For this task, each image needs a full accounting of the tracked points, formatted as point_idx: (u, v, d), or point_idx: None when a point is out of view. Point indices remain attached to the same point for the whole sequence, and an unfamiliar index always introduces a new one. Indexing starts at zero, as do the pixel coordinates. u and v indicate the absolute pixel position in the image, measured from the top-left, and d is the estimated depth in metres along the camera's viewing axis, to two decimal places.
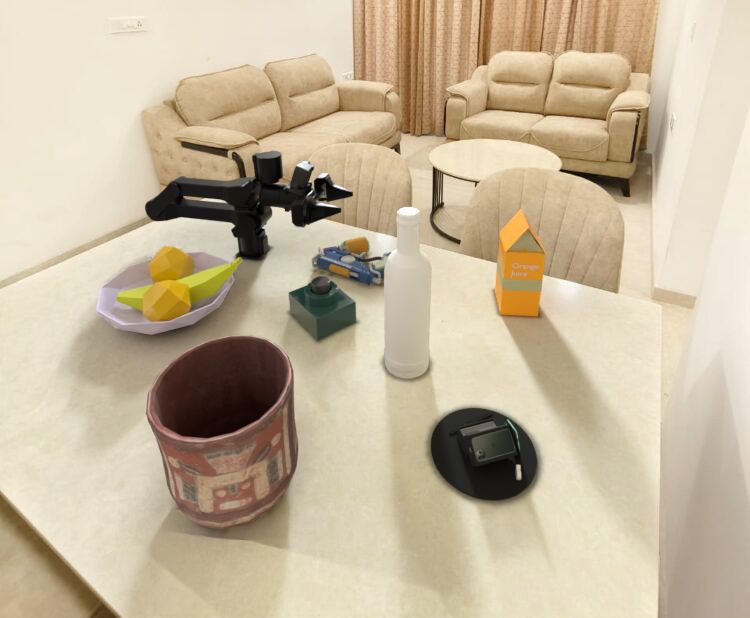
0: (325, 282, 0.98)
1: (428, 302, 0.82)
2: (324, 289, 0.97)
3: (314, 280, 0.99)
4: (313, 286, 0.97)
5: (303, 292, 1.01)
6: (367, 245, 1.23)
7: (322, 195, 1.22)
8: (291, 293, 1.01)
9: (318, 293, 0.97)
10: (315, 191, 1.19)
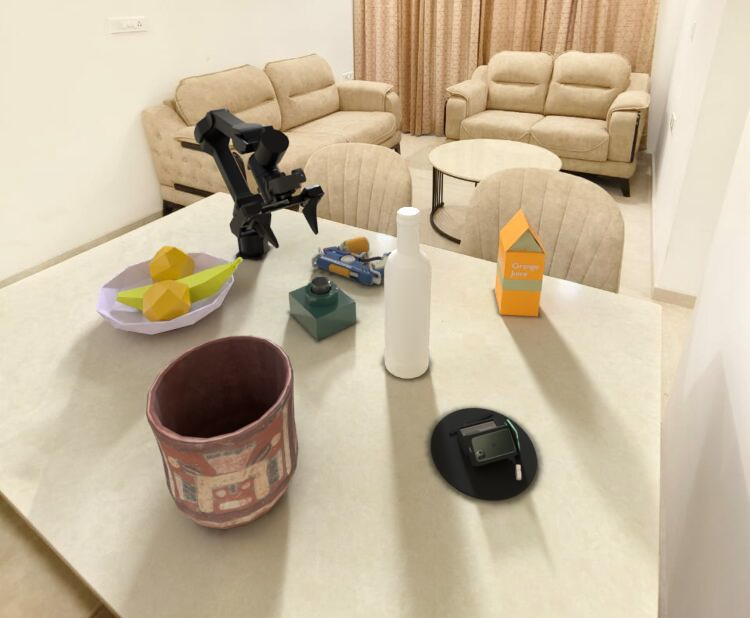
0: (325, 282, 0.98)
1: (428, 302, 0.82)
2: (324, 289, 0.97)
3: (314, 280, 0.99)
4: (313, 286, 0.97)
5: (303, 292, 1.01)
6: (367, 245, 1.23)
7: (302, 203, 1.10)
8: (291, 293, 1.01)
9: (318, 293, 0.97)
10: (294, 199, 1.07)
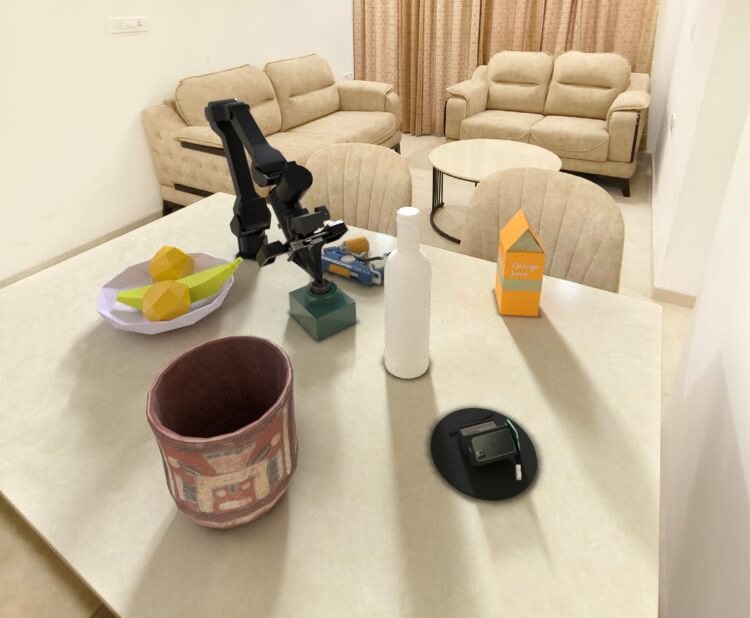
0: (325, 284, 0.98)
1: (428, 302, 0.82)
2: (324, 291, 0.97)
3: (314, 282, 0.99)
4: (313, 288, 0.98)
5: (303, 292, 1.01)
6: (367, 245, 1.23)
7: None
8: (291, 293, 1.01)
9: None
10: None
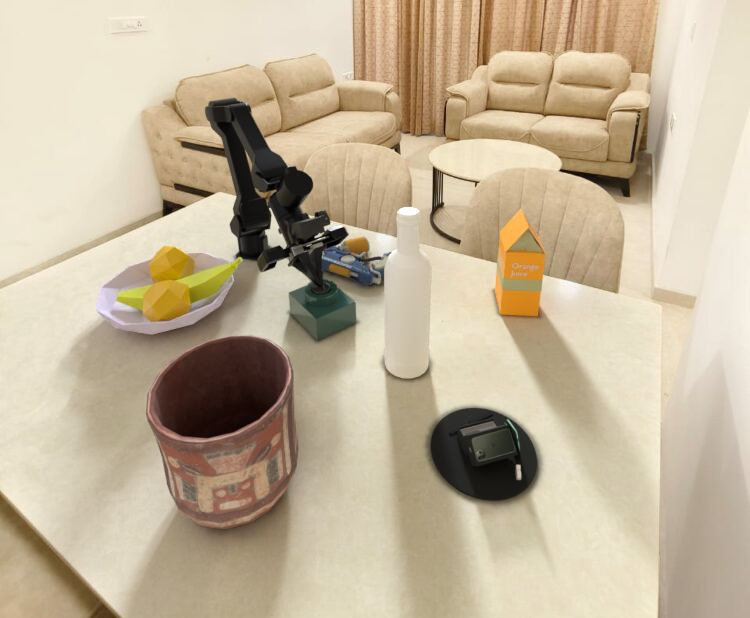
0: (325, 289, 0.98)
1: (428, 302, 0.82)
2: None
3: (314, 286, 0.99)
4: (313, 292, 0.98)
5: (303, 292, 1.01)
6: (367, 245, 1.23)
7: None
8: (291, 293, 1.01)
9: None
10: None
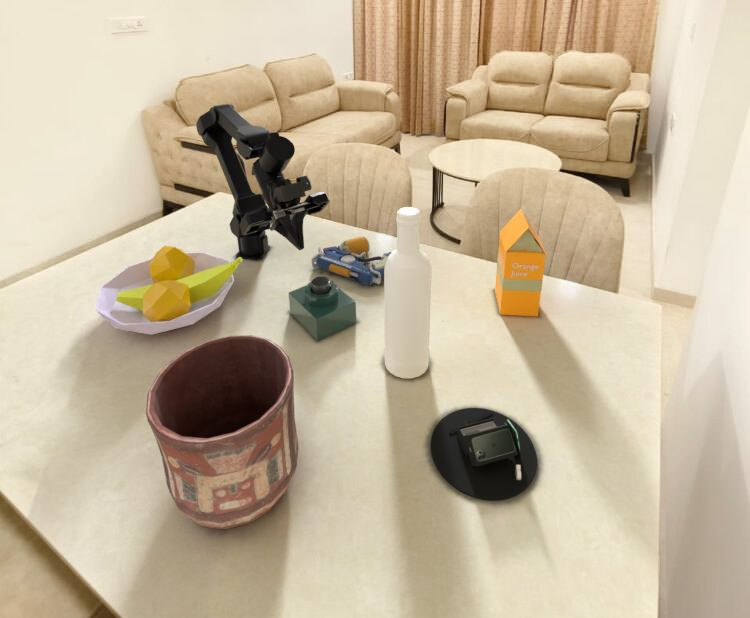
0: (325, 282, 0.98)
1: (428, 302, 0.82)
2: (324, 289, 0.97)
3: (314, 280, 0.99)
4: (313, 286, 0.97)
5: (303, 292, 1.01)
6: (367, 245, 1.23)
7: None
8: (291, 293, 1.01)
9: (318, 293, 0.97)
10: None
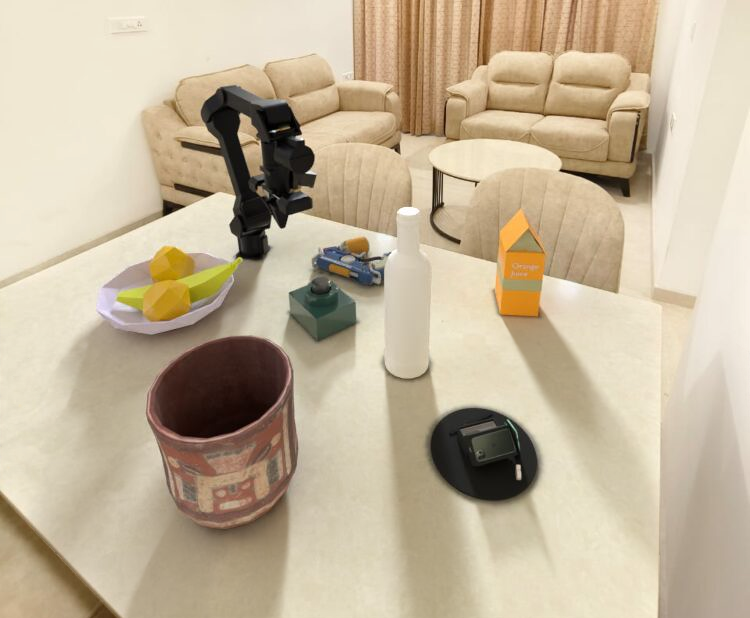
0: (325, 282, 0.98)
1: (428, 302, 0.82)
2: (324, 289, 0.97)
3: (314, 280, 0.99)
4: (313, 286, 0.97)
5: (303, 292, 1.01)
6: (367, 245, 1.23)
7: None
8: (291, 293, 1.01)
9: (318, 293, 0.97)
10: None
